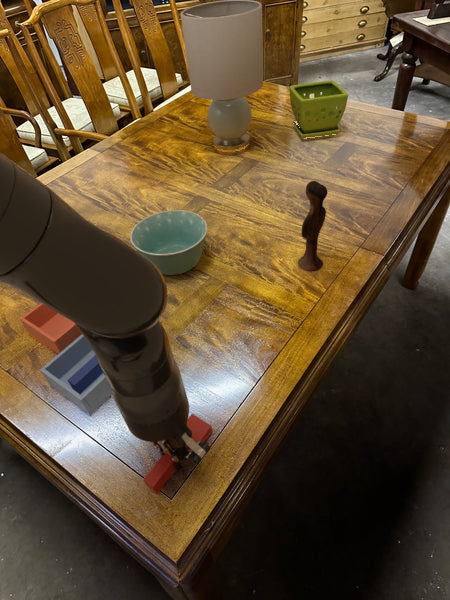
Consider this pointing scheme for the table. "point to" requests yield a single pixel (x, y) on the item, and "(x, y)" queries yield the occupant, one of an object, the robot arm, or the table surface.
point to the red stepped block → (164, 464)
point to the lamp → (225, 65)
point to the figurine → (313, 226)
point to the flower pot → (318, 108)
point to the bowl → (171, 240)
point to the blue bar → (85, 375)
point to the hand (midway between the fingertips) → (176, 460)
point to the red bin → (50, 328)
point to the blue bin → (68, 366)
